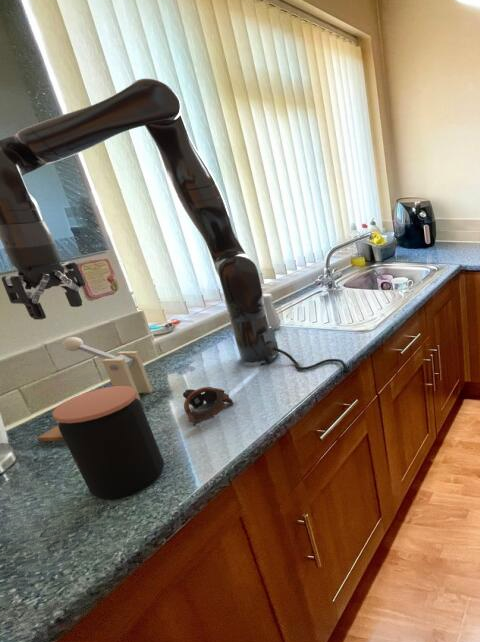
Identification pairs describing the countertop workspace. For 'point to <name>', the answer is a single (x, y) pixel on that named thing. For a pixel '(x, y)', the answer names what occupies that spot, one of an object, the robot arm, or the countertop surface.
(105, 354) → the lever
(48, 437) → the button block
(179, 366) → the countertop surface
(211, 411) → the brown hollow shell
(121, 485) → the coffee jar
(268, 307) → the salt shaker
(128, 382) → the bracket
